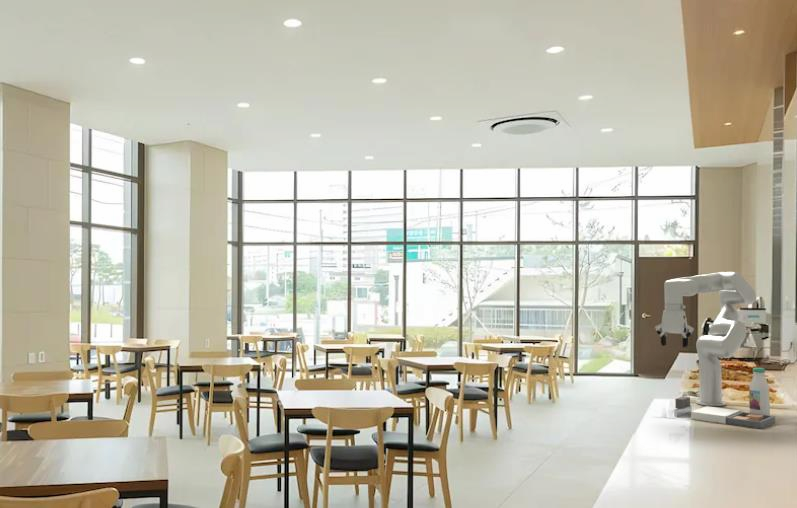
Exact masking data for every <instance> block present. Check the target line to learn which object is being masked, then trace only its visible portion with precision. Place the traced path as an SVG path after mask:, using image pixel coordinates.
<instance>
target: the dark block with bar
mask: <svg viewBox="0 0 797 508" xmlns="http://www.w3.org/2000/svg"><path fill="white" fill-rule="evenodd" d="M674 402H675V409H673V411H674V412H673V414H674V417H676V416H677V417H679V416H680V417H681V416H682V415H686V414H688V413H691V412H692V411H693V410H692V409H693V408H692V404H691V397H690V396H680V397H678V398H675V401H674Z"/></svg>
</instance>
